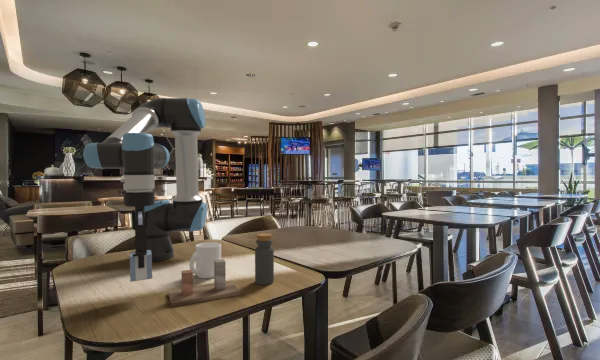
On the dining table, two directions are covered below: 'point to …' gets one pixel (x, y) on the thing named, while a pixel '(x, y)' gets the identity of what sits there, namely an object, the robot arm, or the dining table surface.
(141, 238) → the robot arm
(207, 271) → the mug
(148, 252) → the light blue block
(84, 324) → the dining table surface
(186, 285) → the stand
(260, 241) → the bottle
